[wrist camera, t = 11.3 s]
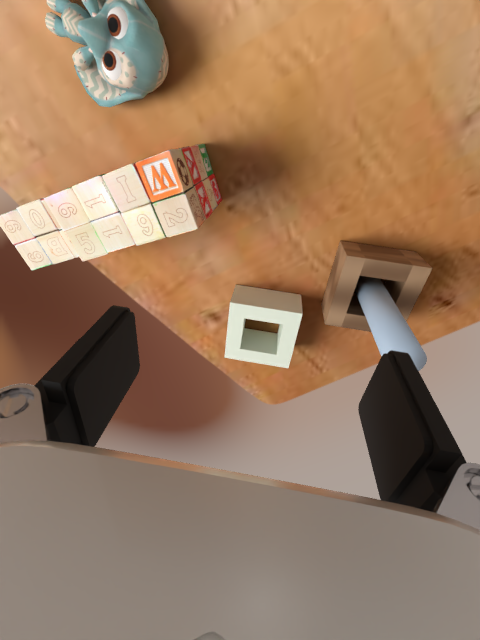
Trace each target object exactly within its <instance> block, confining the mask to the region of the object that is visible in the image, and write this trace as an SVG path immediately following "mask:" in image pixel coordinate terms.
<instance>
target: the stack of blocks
mask: <svg viewBox="0 0 480 640" xmlns="http://www.w3.org/2000/svg"><path fill="white" fill-rule="evenodd" d="M221 201H222V198H221V195H220V191H219V188H218V185H217V182H216V179H215V175H214V173H213V170H212V167H211V164H210V160H209V157H208V154H207V151H206V147H205V144H197V145H194V146H191V147H189V146H188V147H183V148H179V149H172V150H168V151H165V152H162V153H160V154H157V155H154V156H152V157H149V158H147V159H144V160H141V161H139V162H135V163H132V164H129V165H127V166H124V167H122V168H119V169H117V170H114V171H112V172H110V173H107V174H103V175H99V176H96V177H93V178H91V179H89V180H86V181H84V182H81V183H79V184H76V185H74V186H72V187H70V188H68V189H65V190H63V191H60V192H58V193H55V194H53V195H50V196H48V197H45V198H42V199H38V200H35V201H33V202H30V203H27V204H24V205H22V206H19V207H17V209H16V210H13V211H11V212H7V213H5V214H2V215H0V226H1V228H2V229H3V231H4V232H5V233H6V235H7V236H8V238H9V239H10V241H11V242H12V244H14V245H15V247H16V248H17V250H18V251H19V253H20V254H21V256H22V257H23V259H24V260H25V261H26V263H27V264H28V266H29V267H30V268H31V270H35V269H39V268H42V267H45V266H48V265H51V264H56V263H60V262H63V261H66V260H70V259H73V258H76V257H80V258H81V260H82V261H86V260H89V259H93V258H96V257H99V256H103V255H106V254H108V253H110V252H113V251H117V250H120V249H123V248H127V247H130V246H133V245H142V244H145V243H149V242H152V241H156V240H159V239H163V238H165V237H172V236H175V235H179V234H183V233H187V232H190V231H194V230H196V229H198V228H199V227H200V226H201V225H202V223H203V222H204V221H205V220H206V219H207V218H208V217H209V216H210V215H211V213H212V212H213V210H214V209H215V208H216V206H218V205H219V203H220V202H221Z"/></svg>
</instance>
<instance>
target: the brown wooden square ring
mask: <svg viewBox="0 0 480 640" xmlns="http://www.w3.org/2000/svg"><path fill="white" fill-rule="evenodd" d="M431 270H432V267H431V266H430V265H429V264H428V263H427V262H426V261H425V260H424V259H423V258H422V257H421V256H420V255H419V254H418V253H417V252H415V251H408V250H401V249H394V248H387V247H381V246H374V245H367V244H360V243H353V242H346V241H340V243H339V246H338V249H337V253H336V256H335V260H334V263H333V266H332V270H331V273H330V276H329V280H328V283H327V287H326V290H325V293H324V297H323V300H322V303H321V306H322V311H323V316H324V322H325V325H332V326H338V327H344V328H350V329H357V330H363V331H369V332H371V329H370V327H369V324H368V322H367V319H366V317H365V314H364V312H363V309H362V307H361V305H360V302H359V300H358V297H357V296H353V293H354V290H355V287H356V284H357V282H358V279H359V276H367V277H373V278H380V279H386V281H385V284H384V286H385V287H386V289H387V291H388V292H389V294H390V296H391V297H392V299H393V301H394V302H395V304H396V306H397V307H398V309H399V311H400V312H401V314H402V316H403V317H404V319H405V321H407V319H408V317H409V315H410V313H411V311H412V309H413V307H414V305H415V303H416V301H417V299H418V296H419V294H420V292H421V290H422V288H423V286H424V284H425V282H426V280H427V278H428V276H429V274H430V272H431Z"/></svg>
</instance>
